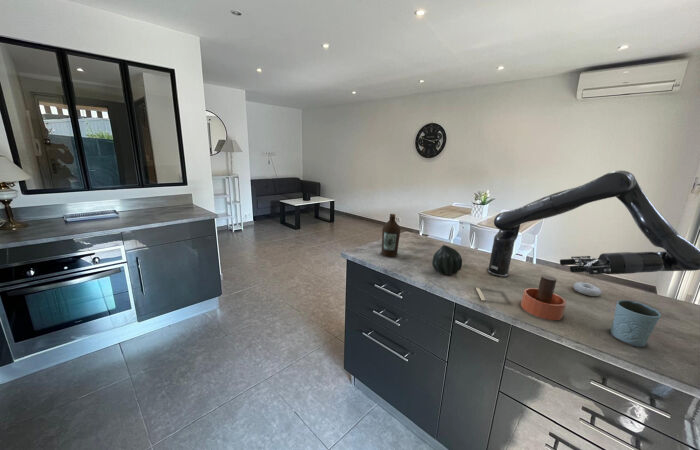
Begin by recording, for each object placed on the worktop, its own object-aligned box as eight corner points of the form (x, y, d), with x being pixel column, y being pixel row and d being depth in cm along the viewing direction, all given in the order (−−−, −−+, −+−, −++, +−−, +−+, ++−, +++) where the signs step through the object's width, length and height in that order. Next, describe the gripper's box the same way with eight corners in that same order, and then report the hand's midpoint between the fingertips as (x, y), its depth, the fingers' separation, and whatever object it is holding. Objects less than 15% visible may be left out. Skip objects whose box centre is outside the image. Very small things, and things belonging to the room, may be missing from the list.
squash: (473, 267, 132) (459, 240, 138) (450, 272, 126) (438, 244, 131) (454, 275, 144) (443, 250, 149) (433, 281, 137) (422, 254, 143)
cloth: (475, 288, 122) (476, 287, 122) (501, 292, 119) (502, 291, 119) (481, 300, 111) (481, 299, 111) (510, 304, 109) (510, 303, 109)
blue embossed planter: (636, 333, 93) (647, 303, 90) (657, 352, 84) (670, 319, 81) (601, 326, 97) (610, 297, 94) (617, 344, 87) (628, 312, 84)
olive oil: (382, 250, 167) (385, 211, 160) (398, 252, 164) (402, 213, 158) (379, 256, 157) (382, 215, 150) (397, 258, 154) (401, 216, 148)
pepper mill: (531, 305, 108) (539, 274, 105) (544, 307, 107) (552, 275, 104) (536, 312, 103) (545, 279, 100) (550, 314, 102) (559, 281, 99)
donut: (599, 292, 124) (571, 284, 130) (601, 285, 123) (573, 278, 129) (600, 300, 116) (571, 292, 122) (603, 293, 115) (574, 285, 121)
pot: (515, 299, 113) (518, 285, 112) (551, 304, 110) (555, 290, 109) (528, 317, 100) (532, 302, 99) (569, 323, 98) (574, 308, 96)
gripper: (607, 248, 100) (556, 251, 105) (633, 258, 87) (573, 261, 92) (608, 267, 101) (557, 269, 106) (634, 280, 87) (574, 281, 93)
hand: (565, 265), depth 99 cm, fingers open, 8 cm apart
